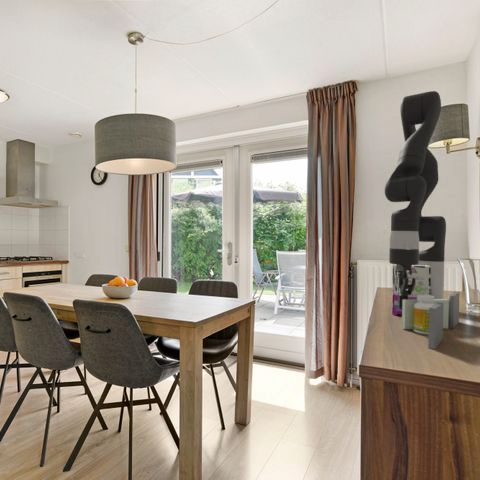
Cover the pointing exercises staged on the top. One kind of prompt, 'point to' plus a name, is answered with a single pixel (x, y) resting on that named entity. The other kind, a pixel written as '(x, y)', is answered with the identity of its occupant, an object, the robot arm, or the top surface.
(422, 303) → the supplement bottle
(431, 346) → the door frame
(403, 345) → the top surface
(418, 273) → the candy bar box
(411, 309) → the door
